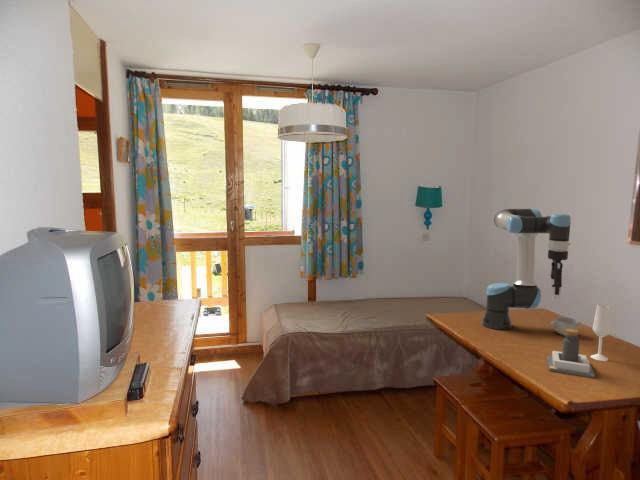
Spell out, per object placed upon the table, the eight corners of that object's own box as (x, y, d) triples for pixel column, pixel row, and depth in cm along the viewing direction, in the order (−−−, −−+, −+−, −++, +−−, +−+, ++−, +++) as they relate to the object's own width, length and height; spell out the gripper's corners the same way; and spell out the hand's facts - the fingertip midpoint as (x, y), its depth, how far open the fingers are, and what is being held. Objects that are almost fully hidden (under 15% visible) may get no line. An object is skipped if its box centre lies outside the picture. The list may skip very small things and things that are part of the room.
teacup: (571, 331, 225) (572, 316, 224) (582, 338, 214) (583, 323, 213) (544, 330, 226) (545, 315, 225) (553, 337, 215) (554, 322, 214)
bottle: (572, 361, 182) (574, 328, 181) (580, 367, 177) (583, 332, 175) (558, 361, 182) (561, 328, 181) (566, 367, 176) (569, 332, 175)
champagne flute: (600, 361, 185) (604, 308, 182) (586, 355, 191) (590, 304, 188) (612, 360, 187) (616, 307, 184) (598, 354, 193) (602, 303, 190)
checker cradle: (547, 357, 190) (547, 348, 189) (589, 363, 183) (589, 354, 183) (549, 370, 175) (549, 361, 175) (594, 378, 169) (595, 368, 168)
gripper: (571, 255, 170) (567, 306, 173) (564, 246, 192) (561, 291, 195) (550, 254, 173) (546, 304, 176) (546, 245, 195) (543, 289, 198)
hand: (554, 297), depth 186 cm, fingers open, 13 cm apart
